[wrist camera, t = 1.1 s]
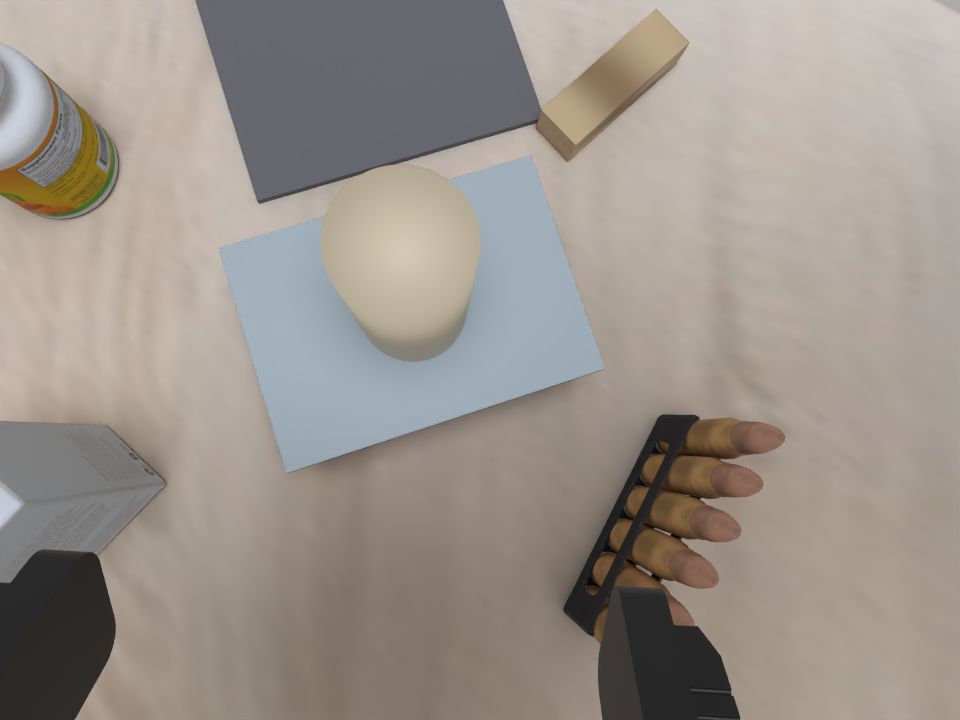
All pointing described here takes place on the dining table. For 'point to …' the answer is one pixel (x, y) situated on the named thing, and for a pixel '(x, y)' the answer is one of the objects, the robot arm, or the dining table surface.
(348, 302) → the lid
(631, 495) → the ammunition clip
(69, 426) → the skincare box
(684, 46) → the wooden block
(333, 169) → the mat
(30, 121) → the supplement bottle
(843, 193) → the dining table surface
